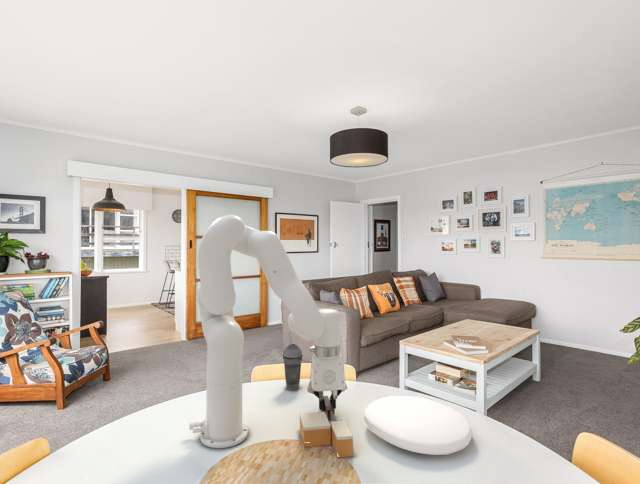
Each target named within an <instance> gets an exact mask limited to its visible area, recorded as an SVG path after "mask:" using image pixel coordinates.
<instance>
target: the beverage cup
mask: <svg viewBox="0 0 640 484" xmlns="http://www.w3.org/2000/svg"><path fill="white" fill-rule="evenodd" d="M291 332H292V331H289V332H288V334H289V335H288V336H289V343H290V344H288V345H287V346H286V347H285V348H284V350H283V352H282V360H283V365H284V377H285V387H286V390H288V391H298V390H299V389H300V384H301V383H300V382H301V372H302V371H301V369H302V361H303V357H304V356H303V351H302V349H301V347H300V346H299V345H298V344H295V343H293V342H292V341H293V340H292V334H291Z"/></svg>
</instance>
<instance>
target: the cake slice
mask: <svg viewBox="0 0 640 484" xmlns="http://www.w3.org/2000/svg"><path fill="white" fill-rule="evenodd" d="M329 423H330V425H331V445H332V449H333V451H334V453H335V455H336V454H337V453H338V455H339V456H341V457H340V458H349V457H350V458H351V457H354V435H353V434H352V432H351V429H350V428H349V426H348V423H347V422H346V420H337V421H332V422H331V421H329Z"/></svg>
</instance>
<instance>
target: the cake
mask: <svg viewBox="0 0 640 484" xmlns="http://www.w3.org/2000/svg"><path fill="white" fill-rule="evenodd" d="M299 434H300V437H301V441H302V445H303V448H310V447H316V446H315V445H318V446H317V447H321V446H330V445H332V443H331V425H330V420H328V418H327V416H326V414H325V412H322V411H314V412H301V413H299ZM303 441H304V442H310V443H304V442H303Z"/></svg>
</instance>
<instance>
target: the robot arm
mask: <svg viewBox="0 0 640 484" xmlns="http://www.w3.org/2000/svg"><path fill="white" fill-rule="evenodd" d="M233 251H235V252H237V253H240V254H242V255H245V256H248V257H251V258H254V259H256V261H257V262H258V265H259V266H260V268H261V270H262V273H263V275H264V276H265V279H266V281H267V283H268V285H269V287H270V289H271V290H272V291H273V293H274V294H275V295H276V296H277V297H278V299H279V300H281V301H282V302H283V303H284V305H285V306H286V307H287V309H288V311H289V312H290V314H289V315H288V317H287V326H288V329H290V330H291V331H290V332H292V333H294V334H295V335H297V336H298V337H300V338H302V339H303V340H305V341H308V342H314V345H313V346H311V347H309V352H310V353H313V354H312V357H311V362H310V374H309V375H310V376H309V382H308V385H307V387H306V391H307V393H310V394H312V395H314V396H315V397H316V398H317V399H318V409H319V410H320V412H325V400H324V397H323V396H324V392H331V393H330V396H329V400H330V402H331V404H332V405H333V407H334V409H335V410H336V409H337V399H338V398H339V396H341V394H342V392H345V391H347V390H348V388H349V387H348V385H347V383H346V372H345V371H346V370H345V362H344V357H343V354H342V353H341V351H340V349H341V348H340V313H339V311H338V310H337V309H334V308H320V309H319V308H318V306H317V303H316V302H315V300H314V298H313V297H312V295H311V293H310V292H309V290H308V289H307V287H306V286H305V284H304V283H303V281H302V280H301V279H300V277H299V276H298V274H297V272H296V270H295V267H294V266H293V263H292V261H291V258H290V257H289V255H288V252H287V251H286V248H285V246H284V244H283V242H282V240H281V238H280V237H279V235H278V234H277V233H275V232H274V231H271V230H259V229H256V228H254V227H251V226H248V225H246V224H245V222H244V220H243V219H242V218H241V217H240V216H237V215H235V214H226V215H223V216H221V217H218V218H217V219H215V221H213V222H212V224H211V225H210V226H209V227H208V228H207V229H206V231H205V233H204V234H203V235H202V238H201V239H200V242H199V245H198V250H197V264H198V265H197V266H198V273H199V275H198V276H199V282H200V285H199V288H198V291H197V301H198V302H197V303H198V308H199V309H198V310H199V315H200V321H201V328H202V333H203V338H204V339H205V343H206V369H205V371H206V373H205V374H206V376H205V377H206V378H205V379H206V416H205V419H201V420H200V421H197V420H196V421H190V422H189V425H188V427H189V430H190V431H192V434H197V433H200V436H199V439H200V442H201V443H202V445H204V446H206V447H209V448H213V449H227V448H230V447H234V446H236V445H239V444H240V443H242V442H244V441H245V440H246V439H247V438H248V435H249V428H248V426H247V425H246V424H245V423H243V359H244V357H243V356H244V349H245V348H244V347H245V336H244V335H245V334H244V332H243V331H244V330H243V329H242V327H241V325H240V324H239V323H238V322H237V321H236V320H235V316H234V309H233V308H234V306H235V304H236V299H237V296H236V290H235V285H234V277H233V273H232V262H231V257H232V256H231V255H232V252H233Z"/></svg>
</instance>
